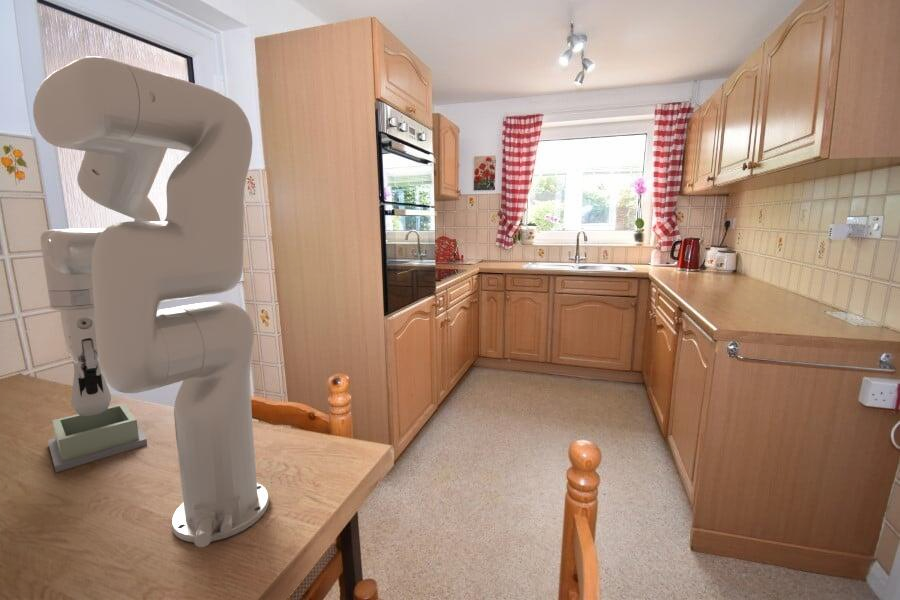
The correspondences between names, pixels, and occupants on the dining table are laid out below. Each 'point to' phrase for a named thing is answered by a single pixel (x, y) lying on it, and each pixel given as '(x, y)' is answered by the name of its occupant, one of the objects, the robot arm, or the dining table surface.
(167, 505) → the dining table surface
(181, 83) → the robot arm
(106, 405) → the salt shaker
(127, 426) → the socket plate
